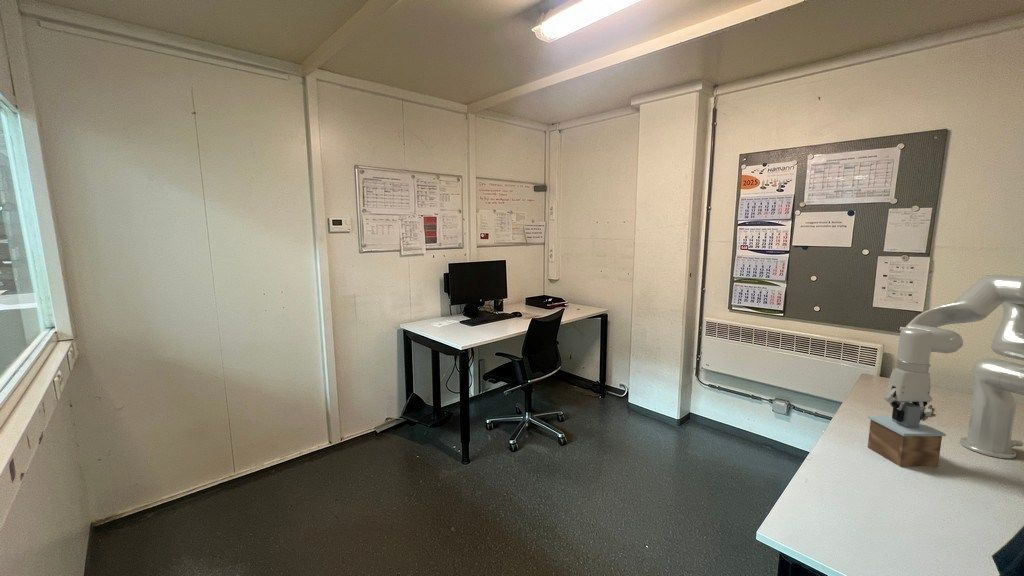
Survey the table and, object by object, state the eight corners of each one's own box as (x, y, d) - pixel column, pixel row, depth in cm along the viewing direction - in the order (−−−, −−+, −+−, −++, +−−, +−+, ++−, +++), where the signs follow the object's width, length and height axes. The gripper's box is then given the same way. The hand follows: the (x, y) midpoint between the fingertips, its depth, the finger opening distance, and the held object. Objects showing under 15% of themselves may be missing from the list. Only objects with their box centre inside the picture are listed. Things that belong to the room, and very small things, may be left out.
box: (902, 447, 141) (905, 418, 140) (937, 466, 129) (942, 435, 128) (867, 447, 141) (870, 418, 140) (899, 466, 129) (903, 435, 128)
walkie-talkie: (928, 423, 161) (934, 409, 174) (929, 412, 160) (935, 399, 173) (898, 415, 168) (905, 403, 180) (899, 405, 167) (906, 393, 180)
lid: (905, 420, 141) (908, 396, 140) (945, 439, 128) (948, 412, 127) (867, 420, 141) (870, 396, 140) (903, 439, 128) (906, 412, 127)
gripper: (927, 363, 135) (920, 415, 137) (875, 363, 135) (869, 415, 138) (951, 370, 128) (943, 425, 130) (896, 370, 128) (890, 425, 130)
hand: (905, 419), depth 134 cm, fingers open, 4 cm apart
